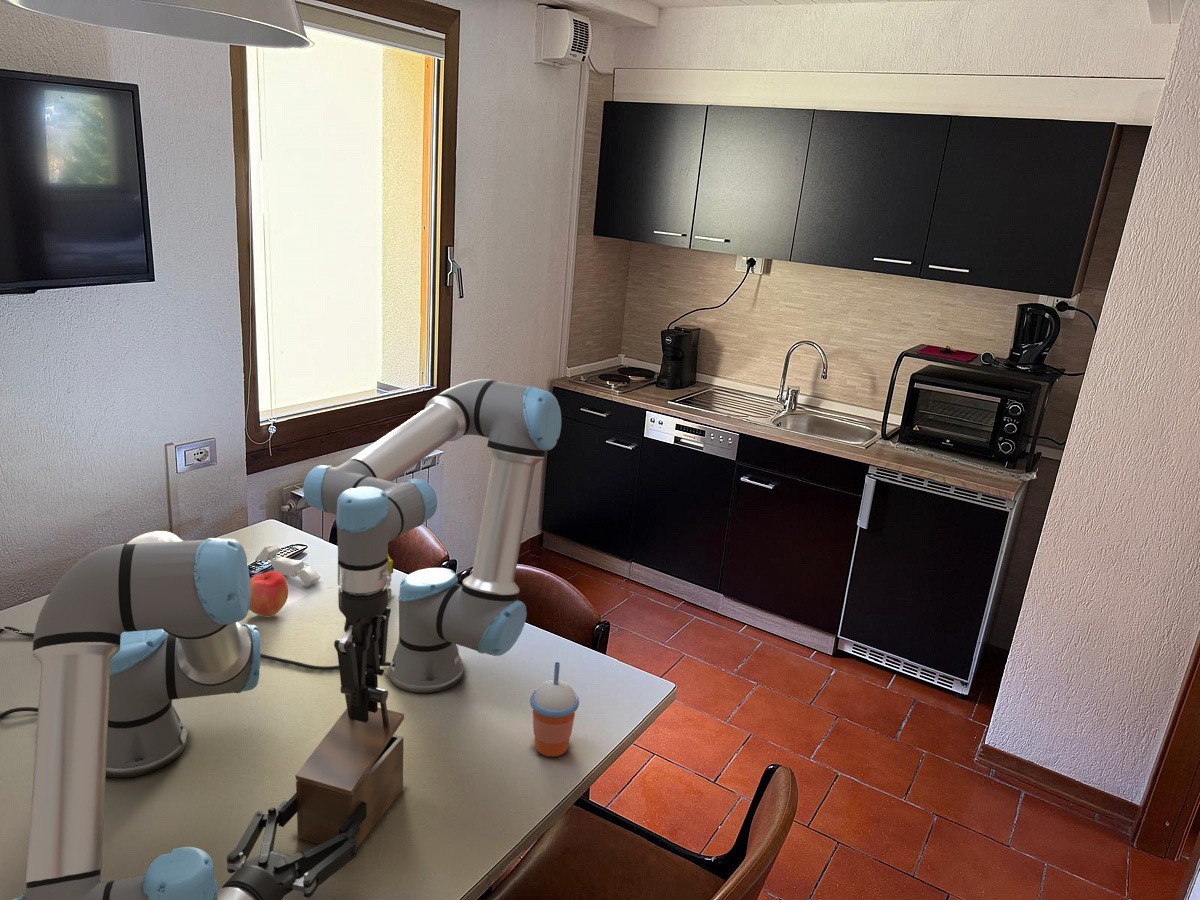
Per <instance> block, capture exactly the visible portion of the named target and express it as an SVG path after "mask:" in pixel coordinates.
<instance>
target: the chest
mask: <svg viewBox="0 0 1200 900" xmlns="http://www.w3.org/2000/svg"><path fill="white" fill-rule="evenodd" d="M404 738H405V737H404V736H402V735H398V734H396V733H394V735H393V736H392V738H391V739H390V741H389V742H388V744H387V745H386V747H385V748H384V750H383V751H382V753H381V754H380V756H379V757H378V759H377V760H376V761H375V763H374V764H373V766H372V767H371V769H370V770H369V772H368V773H367V775H366V776H365V778H364V779H363V781H362V782H361V784H360V785H359V787H358V788H357V790H356V791H355V793H354V794H353V796H350V795H346V794H343V793H339V792H336V791H332V790H329V789H325V788H322V787H318V786H315V785H311V784H308V783H304V782H301V781H297V780H296V781H295V790H296V791H295V793H296V796H297V813H296V823H297V824H296V825H297V827H296V828H297V838H299V839H301V840H304V841H307V842H310V843H314V844H317V845H320V844H322V843H324V842H326V841H328V840H330V839H332V838H334V837H336V836H338V835H339V829H340V827H341V826H342V825H343V824H344V823H345V821H346V820H347V819H348V818H349V817H350V816H351V814H352V813H353V812H354V811H355V810H356V809H357V807H358V806H359V805H360V804H361V803H362V802H366V812H367V817H366V818H365V819H364V821H363V822H362V823H361V824H360V832H359V834H358V835H357V836H356V837H355V840H356V841H357V848H358V847H360V845H361V844H362V842H363V841H364V840H365V839H366V838H367V836H368V835H369V833H370V832H371V831H372V830H373V829H374V827H375V826H376V825H377V823H378V822H379V821H380V819H381V818H382V817H383V816H384V814H385V813H386V812H387V811H388V809H389V808H390V806H391V805H393V803H394V802H395V800H396V799H397V798H398V796H400V794H401V793H402V791H403V790H404V740H405V739H404Z"/></svg>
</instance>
